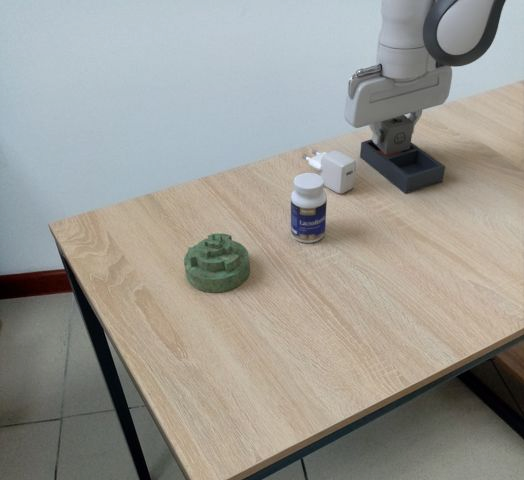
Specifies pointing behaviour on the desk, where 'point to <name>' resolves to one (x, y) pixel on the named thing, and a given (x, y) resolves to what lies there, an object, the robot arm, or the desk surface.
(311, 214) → the pill bottle
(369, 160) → the compartment tray
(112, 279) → the desk surface
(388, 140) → the dice cube
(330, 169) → the power adapter
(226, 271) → the decorative artifact
